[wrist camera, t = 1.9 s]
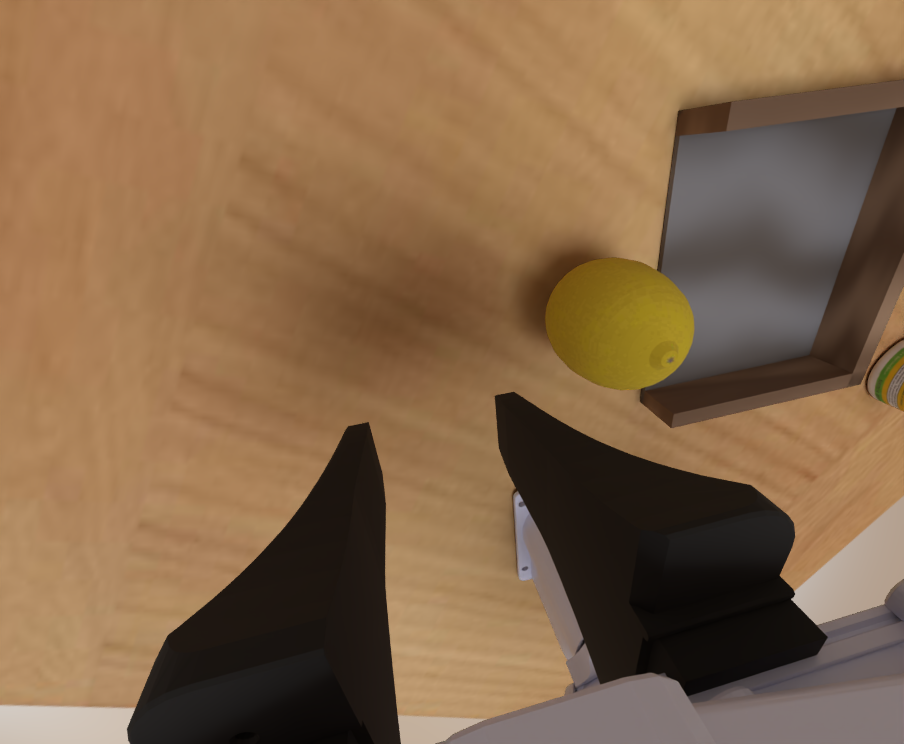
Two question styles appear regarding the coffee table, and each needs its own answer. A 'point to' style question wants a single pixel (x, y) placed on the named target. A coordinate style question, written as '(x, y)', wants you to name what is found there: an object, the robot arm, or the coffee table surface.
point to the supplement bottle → (889, 377)
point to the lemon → (619, 323)
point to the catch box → (782, 246)
